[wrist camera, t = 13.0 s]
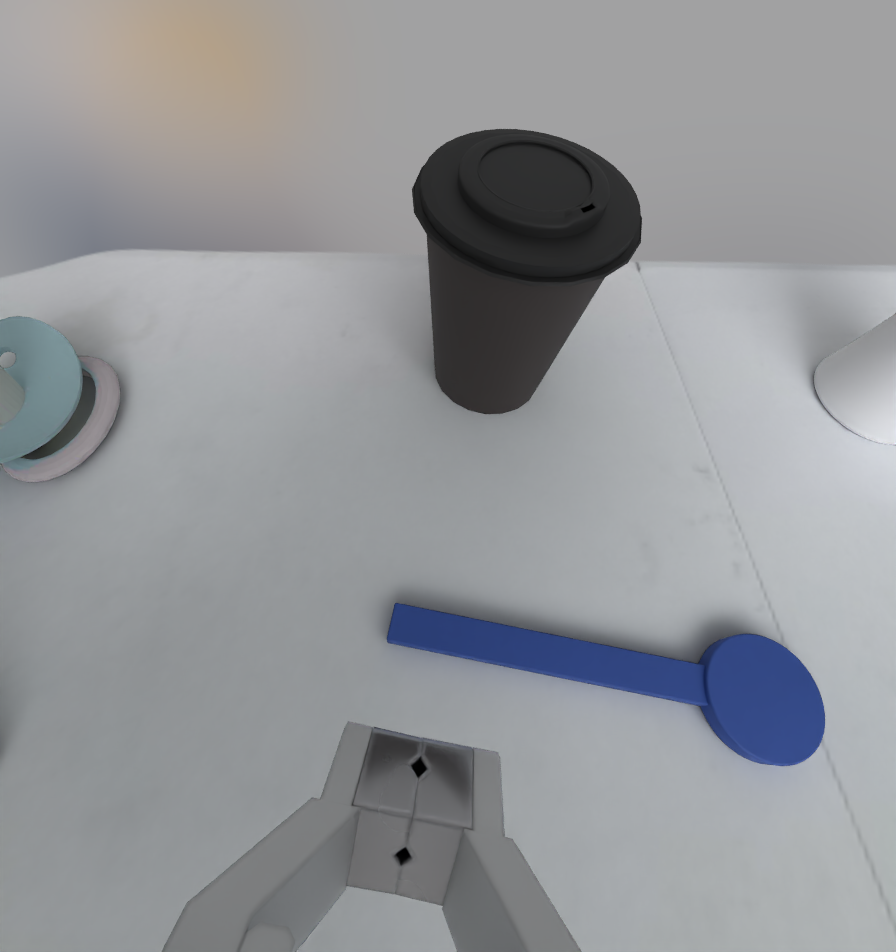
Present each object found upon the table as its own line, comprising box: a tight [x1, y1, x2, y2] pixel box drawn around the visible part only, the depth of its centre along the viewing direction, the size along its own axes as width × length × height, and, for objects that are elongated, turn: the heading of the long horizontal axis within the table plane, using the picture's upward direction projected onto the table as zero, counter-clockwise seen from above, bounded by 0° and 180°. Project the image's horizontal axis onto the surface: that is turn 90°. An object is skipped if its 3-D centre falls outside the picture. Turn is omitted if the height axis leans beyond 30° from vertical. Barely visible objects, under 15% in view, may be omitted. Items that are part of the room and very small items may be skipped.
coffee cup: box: [412, 129, 642, 414], centre depth 20 cm, size 8×8×10 cm
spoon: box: [387, 603, 825, 766], centre depth 18 cm, size 16×4×1 cm, turn 79°
